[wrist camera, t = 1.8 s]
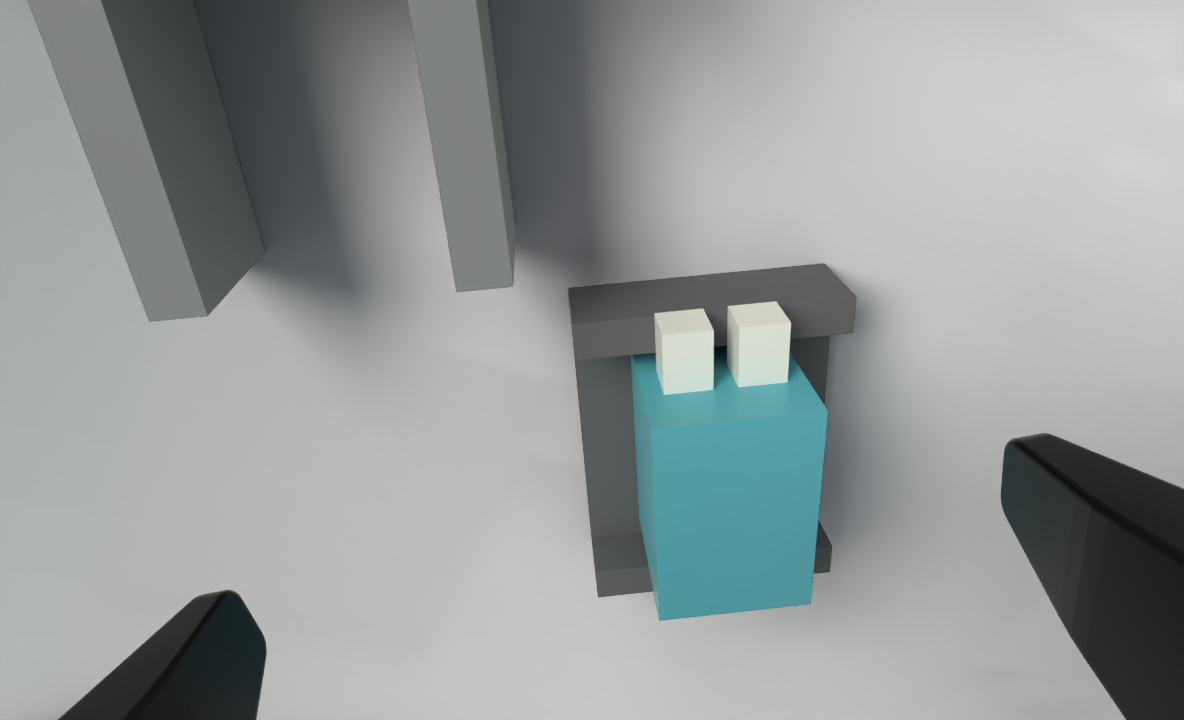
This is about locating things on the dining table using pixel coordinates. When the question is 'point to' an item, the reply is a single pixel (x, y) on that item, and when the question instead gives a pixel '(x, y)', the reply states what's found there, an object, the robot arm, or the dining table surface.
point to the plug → (727, 463)
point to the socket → (209, 158)
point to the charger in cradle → (627, 327)
